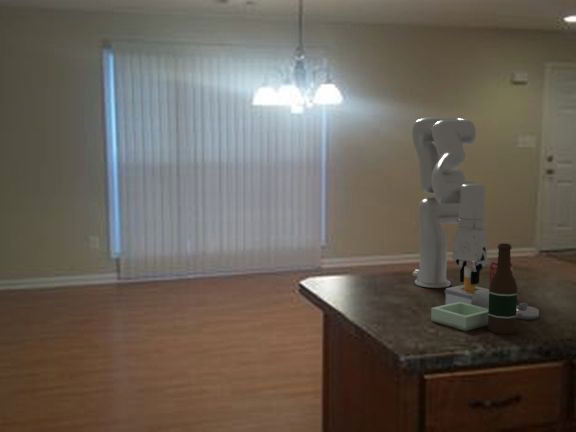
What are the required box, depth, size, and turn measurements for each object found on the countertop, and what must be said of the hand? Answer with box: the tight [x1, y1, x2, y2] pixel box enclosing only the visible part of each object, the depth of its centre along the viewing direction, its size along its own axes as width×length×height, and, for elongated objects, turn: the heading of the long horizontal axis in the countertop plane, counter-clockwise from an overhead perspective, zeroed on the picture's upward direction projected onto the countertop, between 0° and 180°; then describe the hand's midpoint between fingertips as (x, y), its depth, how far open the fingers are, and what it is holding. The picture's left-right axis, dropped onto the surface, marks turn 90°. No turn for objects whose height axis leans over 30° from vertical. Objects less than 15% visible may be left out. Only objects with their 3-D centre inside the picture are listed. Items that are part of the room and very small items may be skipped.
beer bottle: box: [487, 242, 518, 335], centre depth 175 cm, size 8×8×24 cm
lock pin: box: [463, 265, 476, 292], centre depth 200 cm, size 3×3×13 cm
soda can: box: [489, 259, 514, 282], centre depth 209 cm, size 7×7×13 cm
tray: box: [430, 302, 489, 332], centre depth 185 cm, size 12×12×4 cm
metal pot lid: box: [516, 302, 540, 321], centre depth 192 cm, size 9×9×4 cm
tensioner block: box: [444, 284, 489, 309], centre depth 200 cm, size 10×11×6 cm
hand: (469, 282), depth 199 cm, fingers closed on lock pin, 3 cm apart
